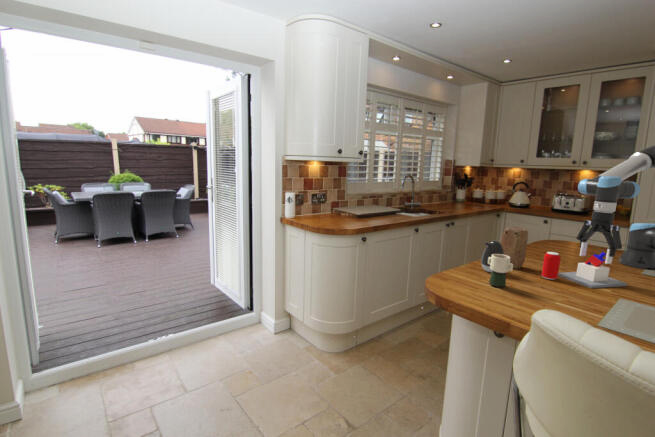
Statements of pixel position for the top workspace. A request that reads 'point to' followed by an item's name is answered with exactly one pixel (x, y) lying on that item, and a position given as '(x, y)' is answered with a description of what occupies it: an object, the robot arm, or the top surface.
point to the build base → (590, 283)
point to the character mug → (499, 269)
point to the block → (515, 245)
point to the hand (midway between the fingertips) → (594, 259)
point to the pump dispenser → (490, 253)
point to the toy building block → (596, 259)
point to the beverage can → (551, 265)
